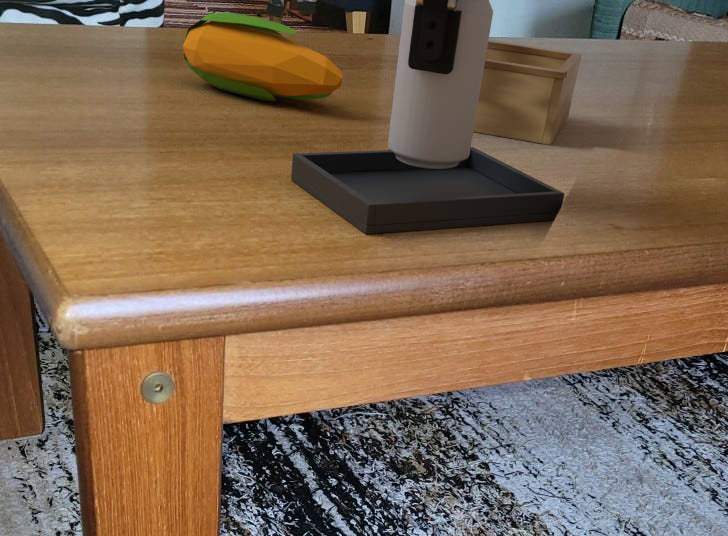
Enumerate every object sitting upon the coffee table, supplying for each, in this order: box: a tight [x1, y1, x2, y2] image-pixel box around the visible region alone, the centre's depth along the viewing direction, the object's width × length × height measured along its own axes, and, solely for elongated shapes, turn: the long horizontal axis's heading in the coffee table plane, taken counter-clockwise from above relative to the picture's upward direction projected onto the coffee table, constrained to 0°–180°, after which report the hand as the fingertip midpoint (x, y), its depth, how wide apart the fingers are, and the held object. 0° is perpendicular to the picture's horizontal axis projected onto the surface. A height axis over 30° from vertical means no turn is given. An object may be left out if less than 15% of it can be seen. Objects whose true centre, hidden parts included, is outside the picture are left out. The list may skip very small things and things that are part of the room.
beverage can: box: [387, 0, 494, 169], centre depth 73 cm, size 6×6×12 cm
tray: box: [290, 146, 565, 235], centre depth 78 cm, size 17×13×2 cm
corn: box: [182, 12, 344, 102], centre depth 101 cm, size 7×8×20 cm
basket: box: [473, 39, 583, 146], centre depth 102 cm, size 13×13×7 cm
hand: (442, 61), depth 73 cm, fingers closed on beverage can, 6 cm apart
